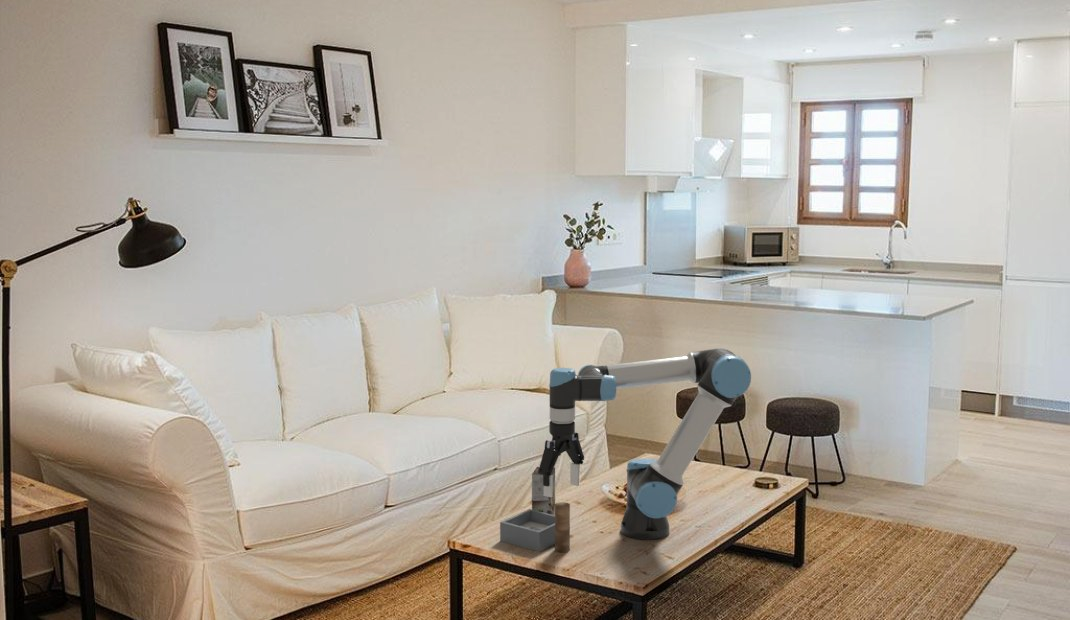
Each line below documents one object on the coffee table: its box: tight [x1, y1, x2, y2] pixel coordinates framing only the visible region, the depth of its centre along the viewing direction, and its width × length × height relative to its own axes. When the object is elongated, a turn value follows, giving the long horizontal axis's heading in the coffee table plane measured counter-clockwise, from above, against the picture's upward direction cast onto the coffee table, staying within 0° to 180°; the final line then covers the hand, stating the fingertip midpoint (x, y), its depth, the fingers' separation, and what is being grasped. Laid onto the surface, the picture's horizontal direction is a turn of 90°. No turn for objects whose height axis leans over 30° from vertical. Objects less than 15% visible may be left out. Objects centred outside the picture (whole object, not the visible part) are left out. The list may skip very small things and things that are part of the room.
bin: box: [499, 508, 555, 552], centre depth 311 cm, size 15×15×6 cm
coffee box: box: [531, 466, 556, 515], centre depth 329 cm, size 9×6×16 cm
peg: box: [554, 501, 571, 553], centre depth 301 cm, size 4×4×14 cm
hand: (561, 490), depth 300 cm, fingers open, 13 cm apart
